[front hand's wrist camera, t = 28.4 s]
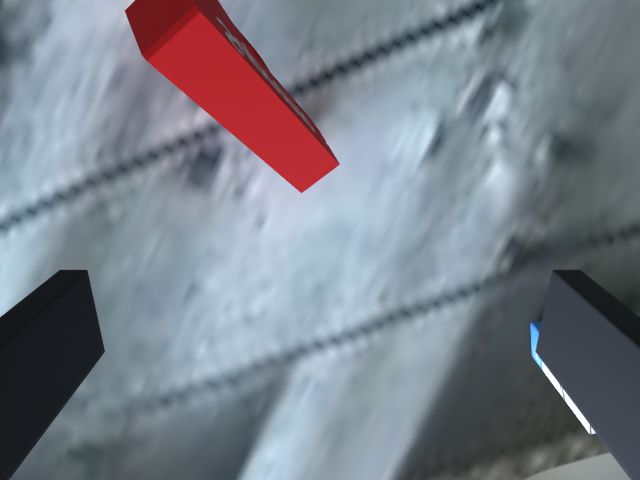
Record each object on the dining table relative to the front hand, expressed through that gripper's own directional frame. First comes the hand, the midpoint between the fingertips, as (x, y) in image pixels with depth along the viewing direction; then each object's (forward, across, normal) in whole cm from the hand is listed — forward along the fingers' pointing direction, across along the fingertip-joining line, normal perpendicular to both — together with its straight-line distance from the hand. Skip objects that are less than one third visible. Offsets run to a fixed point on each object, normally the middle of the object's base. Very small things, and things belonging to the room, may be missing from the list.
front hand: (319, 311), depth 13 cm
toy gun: (+31, -6, +6) cm, 32 cm away
